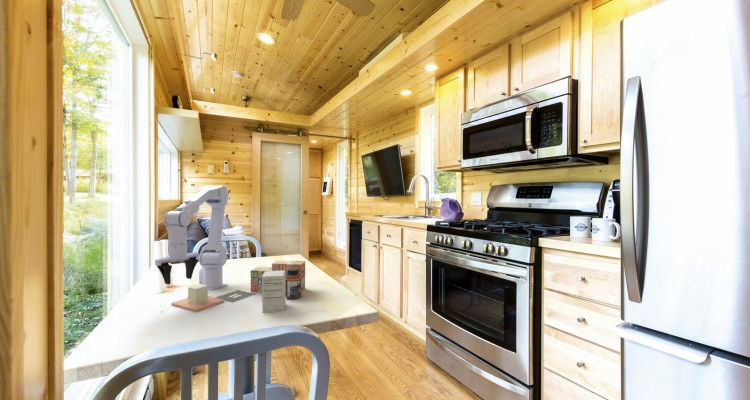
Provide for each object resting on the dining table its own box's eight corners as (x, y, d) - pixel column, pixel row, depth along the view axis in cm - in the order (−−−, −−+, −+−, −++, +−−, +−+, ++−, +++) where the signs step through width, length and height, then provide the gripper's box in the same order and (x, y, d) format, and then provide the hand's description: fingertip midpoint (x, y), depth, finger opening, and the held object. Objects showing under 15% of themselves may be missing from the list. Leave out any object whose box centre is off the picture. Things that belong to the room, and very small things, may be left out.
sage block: (188, 302, 114) (188, 287, 114) (200, 298, 118) (199, 284, 118) (195, 304, 112) (195, 289, 112) (207, 300, 116) (207, 285, 116)
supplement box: (265, 305, 114) (264, 270, 114) (286, 303, 115) (285, 270, 115) (261, 313, 107) (261, 276, 106) (284, 311, 108) (283, 275, 108)
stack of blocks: (250, 292, 128) (249, 263, 128) (257, 288, 135) (256, 259, 134) (301, 293, 127) (301, 263, 127) (305, 289, 133) (305, 260, 133)
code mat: (213, 298, 121) (213, 297, 121) (237, 290, 131) (237, 289, 131) (232, 303, 116) (232, 302, 116) (256, 294, 126) (256, 293, 126)
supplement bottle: (287, 294, 125) (286, 266, 125) (302, 294, 126) (301, 266, 125) (284, 300, 119) (283, 270, 119) (299, 299, 120) (299, 270, 119)
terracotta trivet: (171, 305, 113) (171, 302, 113) (200, 296, 123) (200, 294, 123) (195, 312, 107) (195, 309, 107) (223, 302, 117) (223, 299, 117)
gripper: (162, 248, 105) (163, 288, 105) (203, 241, 118) (204, 277, 118) (151, 246, 108) (152, 285, 109) (192, 240, 121) (192, 275, 121)
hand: (178, 281), depth 114 cm, fingers open, 7 cm apart
